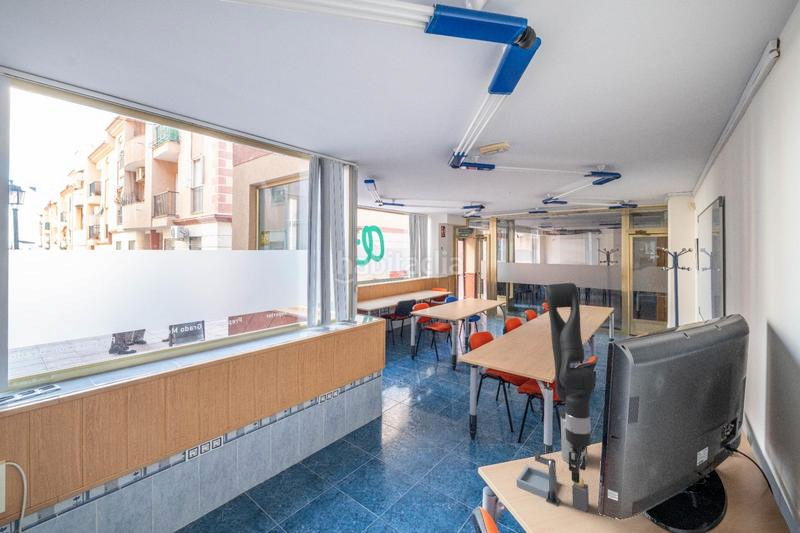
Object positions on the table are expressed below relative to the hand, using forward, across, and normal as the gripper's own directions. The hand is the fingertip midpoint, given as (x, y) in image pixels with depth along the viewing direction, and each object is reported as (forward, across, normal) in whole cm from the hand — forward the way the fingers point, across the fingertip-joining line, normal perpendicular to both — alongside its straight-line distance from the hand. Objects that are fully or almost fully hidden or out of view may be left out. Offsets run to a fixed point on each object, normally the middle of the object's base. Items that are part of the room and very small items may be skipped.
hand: (578, 475), depth 111 cm
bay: (+10, -2, -15) cm, 18 cm away
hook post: (+11, +3, -10) cm, 14 cm away
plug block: (+11, -1, 0) cm, 11 cm away
